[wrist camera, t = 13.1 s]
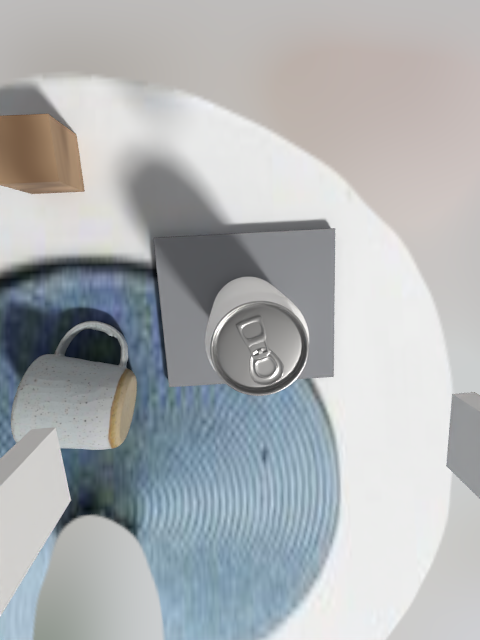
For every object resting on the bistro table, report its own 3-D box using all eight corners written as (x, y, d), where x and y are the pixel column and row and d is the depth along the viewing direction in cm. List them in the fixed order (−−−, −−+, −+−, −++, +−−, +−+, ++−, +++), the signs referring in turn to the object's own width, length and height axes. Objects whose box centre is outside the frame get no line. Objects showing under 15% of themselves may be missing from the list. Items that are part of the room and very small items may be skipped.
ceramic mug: (137, 424, 33) (112, 474, 26) (55, 416, 33) (4, 464, 25) (145, 324, 31) (120, 346, 24) (58, 313, 31) (4, 332, 23)
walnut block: (32, 194, 28) (-3, 184, 24) (22, 137, 27) (-17, 116, 23) (84, 191, 29) (59, 181, 24) (76, 135, 28) (48, 113, 23)
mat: (170, 382, 32) (169, 387, 32) (155, 238, 29) (153, 237, 28) (330, 372, 33) (333, 376, 32) (331, 228, 30) (335, 228, 29)
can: (227, 354, 31) (226, 417, 19) (202, 290, 30) (184, 317, 18) (291, 330, 31) (330, 381, 19) (269, 265, 29) (296, 275, 18)
